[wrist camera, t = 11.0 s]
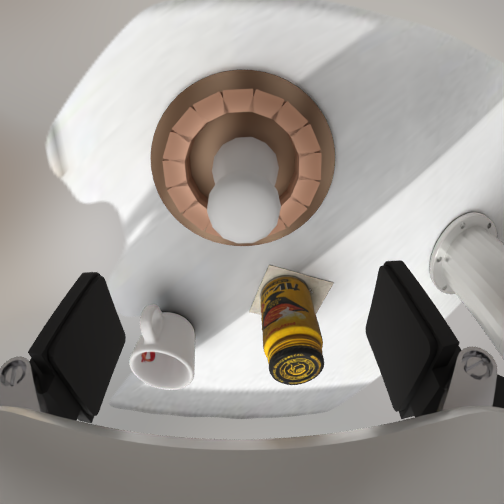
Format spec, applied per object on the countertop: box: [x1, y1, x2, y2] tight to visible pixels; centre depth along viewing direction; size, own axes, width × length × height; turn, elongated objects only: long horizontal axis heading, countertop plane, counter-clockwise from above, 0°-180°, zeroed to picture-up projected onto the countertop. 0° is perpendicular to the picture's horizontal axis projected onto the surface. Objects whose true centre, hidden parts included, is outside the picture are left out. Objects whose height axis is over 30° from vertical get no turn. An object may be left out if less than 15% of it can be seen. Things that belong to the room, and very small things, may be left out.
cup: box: [129, 304, 195, 390], centre depth 35 cm, size 11×8×8 cm
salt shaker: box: [207, 137, 281, 243], centre depth 22 cm, size 6×6×13 cm
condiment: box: [249, 266, 333, 385], centre depth 32 cm, size 7×8×12 cm
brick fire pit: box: [151, 70, 335, 246], centre depth 27 cm, size 18×18×4 cm
